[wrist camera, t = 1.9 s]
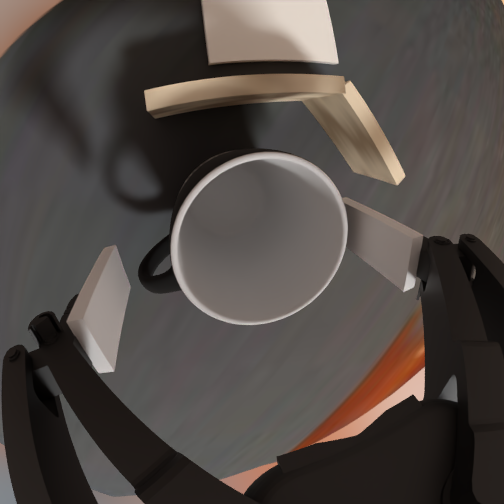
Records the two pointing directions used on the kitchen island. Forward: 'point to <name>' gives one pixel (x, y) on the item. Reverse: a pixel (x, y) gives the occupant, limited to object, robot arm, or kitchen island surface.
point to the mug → (251, 237)
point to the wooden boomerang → (294, 89)
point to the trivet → (268, 31)
